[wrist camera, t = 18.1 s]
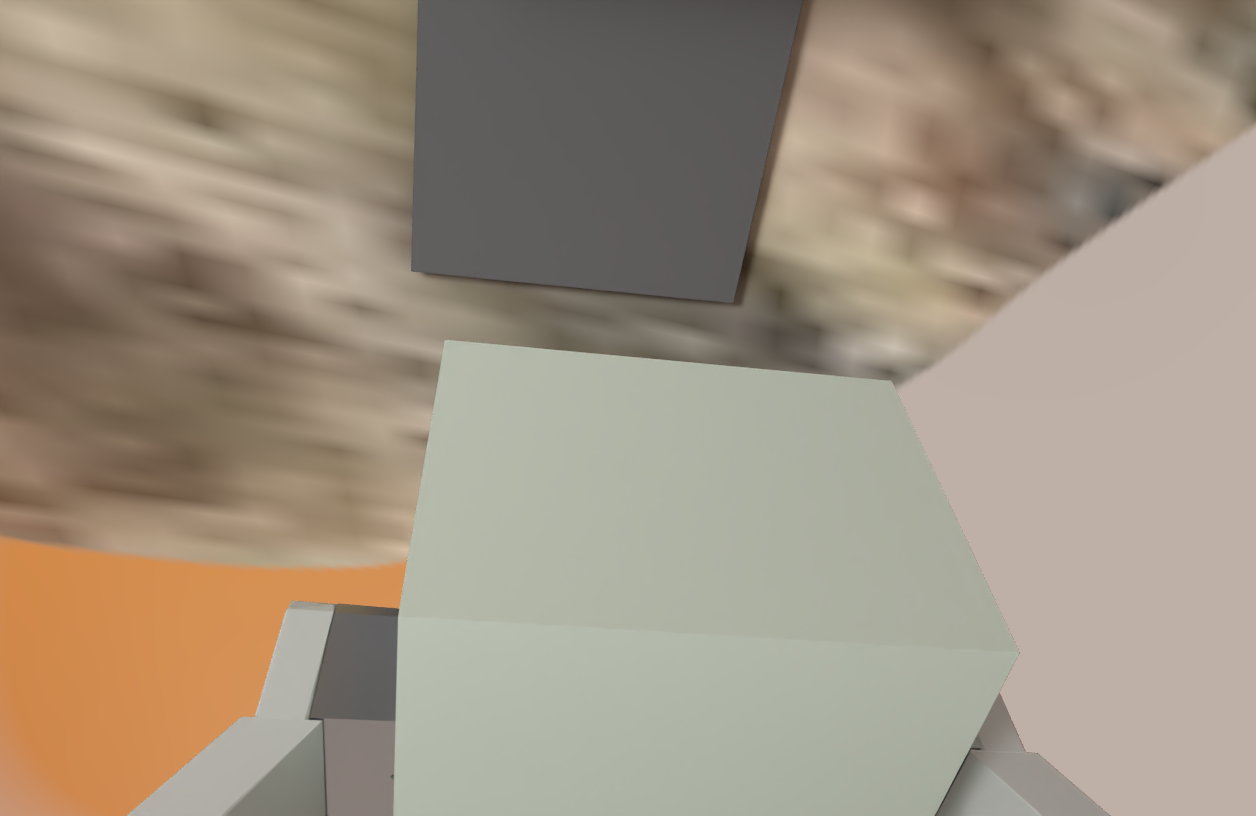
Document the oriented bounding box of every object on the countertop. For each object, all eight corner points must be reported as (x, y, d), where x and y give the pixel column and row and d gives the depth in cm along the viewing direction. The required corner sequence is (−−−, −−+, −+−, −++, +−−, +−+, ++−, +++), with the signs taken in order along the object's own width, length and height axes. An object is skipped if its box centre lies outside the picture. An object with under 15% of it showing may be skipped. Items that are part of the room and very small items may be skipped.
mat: (422, -90, 24) (420, -86, 23) (806, -35, 25) (809, -31, 24) (413, 264, 29) (411, 271, 28) (731, 296, 30) (733, 303, 29)
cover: (445, 339, 11) (397, 616, 8) (891, 381, 12) (1019, 652, 8) (423, 749, 15) (388, 1047, 12) (759, 764, 16) (811, 1049, 12)
